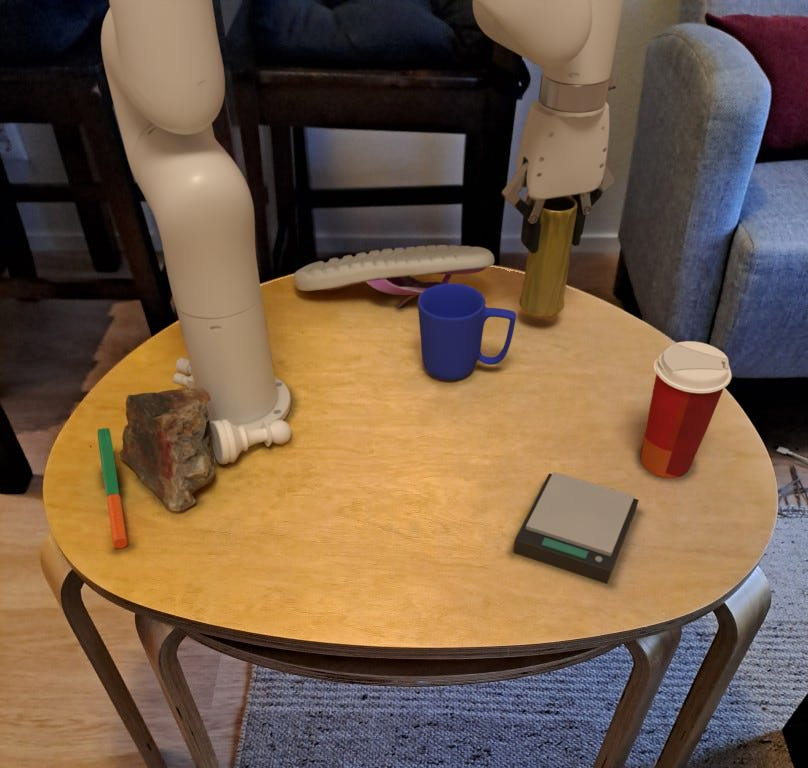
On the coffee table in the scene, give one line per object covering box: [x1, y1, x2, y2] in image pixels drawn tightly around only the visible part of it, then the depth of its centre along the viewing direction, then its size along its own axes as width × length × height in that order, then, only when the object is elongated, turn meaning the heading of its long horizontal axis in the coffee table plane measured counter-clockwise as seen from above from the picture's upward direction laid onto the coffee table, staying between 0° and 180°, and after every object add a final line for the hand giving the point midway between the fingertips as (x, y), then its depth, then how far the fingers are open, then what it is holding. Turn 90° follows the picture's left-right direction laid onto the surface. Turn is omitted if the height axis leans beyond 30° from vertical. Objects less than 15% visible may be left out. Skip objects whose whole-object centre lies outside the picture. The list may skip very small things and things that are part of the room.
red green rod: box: [97, 427, 128, 550], centre depth 88 cm, size 15×6×2 cm
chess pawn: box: [209, 419, 292, 465], centre depth 94 cm, size 5×5×9 cm
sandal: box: [293, 244, 495, 308], centre depth 115 cm, size 13×29×7 cm, turn 85°
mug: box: [417, 282, 517, 382], centre depth 102 cm, size 8×12×10 cm
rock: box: [118, 388, 217, 512], centre depth 89 cm, size 12×12×10 cm
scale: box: [513, 471, 640, 584], centre depth 85 cm, size 10×11×3 cm
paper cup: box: [640, 340, 733, 479], centre depth 88 cm, size 8×8×14 cm
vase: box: [518, 195, 577, 317], centre depth 106 cm, size 6×6×14 cm
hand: (550, 243), depth 105 cm, fingers closed on vase, 5 cm apart
